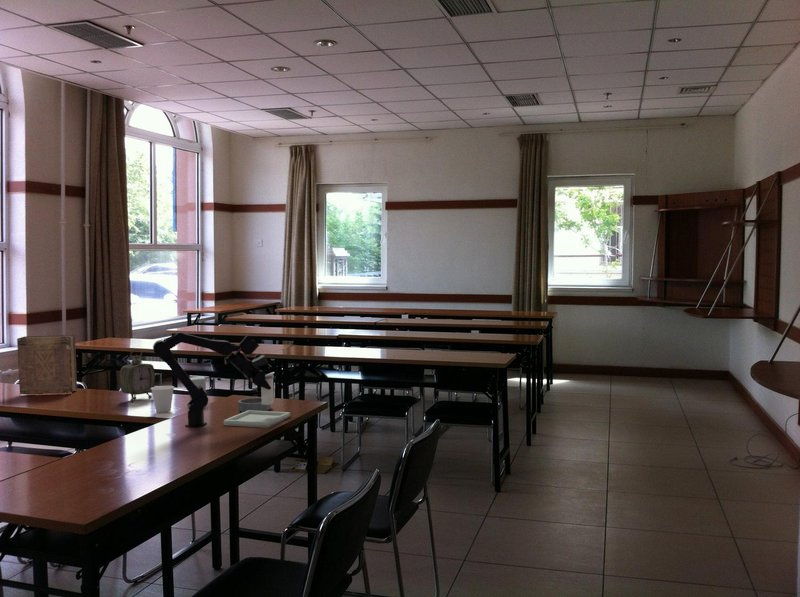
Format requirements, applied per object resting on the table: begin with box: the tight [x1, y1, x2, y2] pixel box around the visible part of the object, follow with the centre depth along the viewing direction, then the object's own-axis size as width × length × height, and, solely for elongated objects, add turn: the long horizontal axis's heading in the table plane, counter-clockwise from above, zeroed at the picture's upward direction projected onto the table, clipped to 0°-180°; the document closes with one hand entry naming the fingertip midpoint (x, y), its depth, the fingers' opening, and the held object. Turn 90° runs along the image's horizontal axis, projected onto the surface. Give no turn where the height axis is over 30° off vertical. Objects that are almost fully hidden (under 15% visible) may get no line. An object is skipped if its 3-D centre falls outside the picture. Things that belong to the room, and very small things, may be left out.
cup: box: [151, 385, 175, 414], centre depth 313 cm, size 10×10×11 cm
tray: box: [223, 410, 291, 429], centre depth 292 cm, size 20×20×2 cm
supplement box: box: [189, 376, 207, 402], centre depth 329 cm, size 7×7×13 cm
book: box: [16, 334, 78, 395], centre depth 363 cm, size 25×9×30 cm, turn 100°
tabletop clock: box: [119, 348, 156, 403], centre depth 342 cm, size 14×9×25 cm, turn 150°
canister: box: [260, 373, 274, 405], centre depth 296 cm, size 5×5×12 cm
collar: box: [238, 397, 271, 413], centre depth 316 cm, size 14×14×4 cm
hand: (269, 387), depth 296 cm, fingers closed on canister, 5 cm apart
